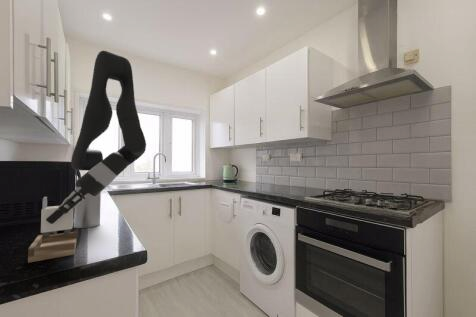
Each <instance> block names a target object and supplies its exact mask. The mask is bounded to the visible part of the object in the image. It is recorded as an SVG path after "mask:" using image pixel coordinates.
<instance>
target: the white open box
mask: <svg viewBox="0 0 476 317" xmlns="http://www.w3.org/2000/svg"><path fill="white" fill-rule="evenodd" d="M58 207H60V205H54V206H48V196H44V197H43V198H42V207H41V208H42V209H41V211H40V212H41V213H40V214H41V216H40V218H41V220H40V233H41V234H42V235H43V237H44V238H47V237H49V236H50V235H51V234H52V231H59V230H64V234H65V235H68V234H69V233H70V232H71V230H72V229H73V228H74V208H73V209H70V210H69V211H68V213H66V214H63V215H62V216H61V217H60V218H59V219H58V220H57V221H55V222H54V223H53V224H50V223H49V222H47V221H46V219H47V218H48V217H49V216H50V215H51V214H53V213H54V212H55V211H56V210H57V209H58ZM64 207H65V208H67V209H68V208H69V207H68V206H67V205H64Z"/></svg>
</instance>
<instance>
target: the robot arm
mask: <svg viewBox="0 0 476 317" xmlns="http://www.w3.org/2000/svg"><path fill="white" fill-rule="evenodd" d="M108 80H112V81H117V82H119V85H120V88H121V90H120V92H121V93H120V95H119V97H118V100H117V102H116V107H115V112H116V117H117V121H118V125H119V128H120V130H121V134H122V138H123V146H122V147H121V148H120V149H118V150H116V151H115V152H112V153H110V154H108V155H107V156H106V157H104V156H103V152H102V151H101V150H99V149H88V148H89V146H91V144H92V143H93V142H94V141H95V140H96V139H98V138H99V137H100V136H101V135H103V133H105V132H106V131H107V130H108V129H109V127H110V124H111V121H112V119H113V118H112V117H113V108H112V104H111V101H110V100H109V97H108V94H107V85H108V82H109V81H108ZM80 127H81V128H80V131H79V135H78V138H77V141H76V144H75V146H74V149H73V151H72V154H71V160H70V163H71V164H70V165H71V168H72V169H73V170H75V171H86V172H85V173H84V174H83V175H82V176H80V177H79V178H78V179H76V180H75V189H74V190H73V191H72V192H71V193H70V195H68V197H66V198H64V200H63V202H62V203H61V204H60V205H59V206H60V207H58V209H57V210H56V211H55V212H54V213H53V214H51V215H50V216H49V217H48V218H47V219H46V221H47V222H49V223H50V224H53V223H54V222H55V221H57V220H58V219H59V218H60V217H61V216H62V215H63V214H66V213H68V211H69V210H70V209H73V210H74V221H73V228H75V229H87V228H89V229H90V228H94V227H97V226H100V224H101V199H102V198H101V196H102V195H101V194H102V193H101V192H102V191H103V190H105V189H106V188H107V187H108V186H109V185H110V184H112V182H113V181H114V180H115V179H116V178H117V177H118V176H119V175H120V174H121V173H122V172H124V170H126V169H127V168H128V166H130V165H131V164H133V163H134V162H136V161H137V160H138V159H140V158H141V156H143V155H144V153H145V151H146V149H147V141H146V137H145V135H144V132H143V129H142V127H141V122H140V118H139V114H138V110H137V106H136V100H135V88H134V76H133V68H132V65H131V62H130V60H128V58H126V57H124V56H121V55H119V54H116V53H113V52H111V51H107V50H101V51H99V52H98V54H97V56H96V57H95V61H94V66H93V73H92V81H91V86H90V92H89V95H88V99H87V103H86V106H85V110H84V114H83V118H82V122H81V126H80ZM64 205H67V206H68V207H69V208H68V209H67V208H65V207H64Z"/></svg>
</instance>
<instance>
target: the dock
mask: <svg viewBox="0 0 476 317" xmlns="http://www.w3.org/2000/svg"><path fill="white" fill-rule="evenodd" d="M77 236H78V231H70V233H69V234H68V235H65V234H64V233H61V234H54V235H52V234H50V236H49V237H47V238H44V237H43V234H39V235H37V237H35V239H34V241H33V242H32V243H31V244H30V246H29V247H28V249H27V263H28V264H29V263H33V262H40V261H45V260H50V259H56V258H62V257H67V256H68V257H69V256H74V255H75V254H76V247H77V238H78V237H77Z"/></svg>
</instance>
